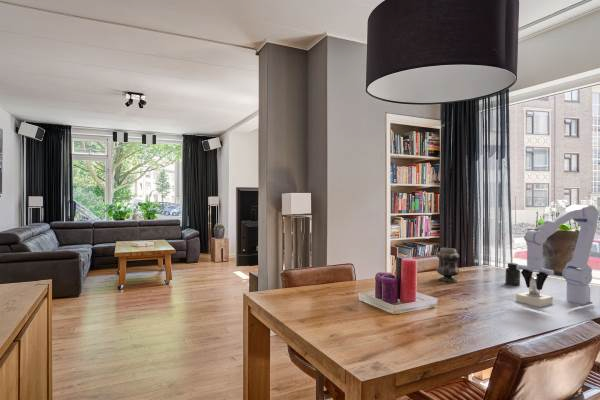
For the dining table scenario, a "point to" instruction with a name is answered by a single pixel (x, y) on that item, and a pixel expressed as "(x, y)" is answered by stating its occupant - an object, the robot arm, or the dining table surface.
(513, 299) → the cream recessed block
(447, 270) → the apothecary jar
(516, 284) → the supplement bottle
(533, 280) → the metal peg
